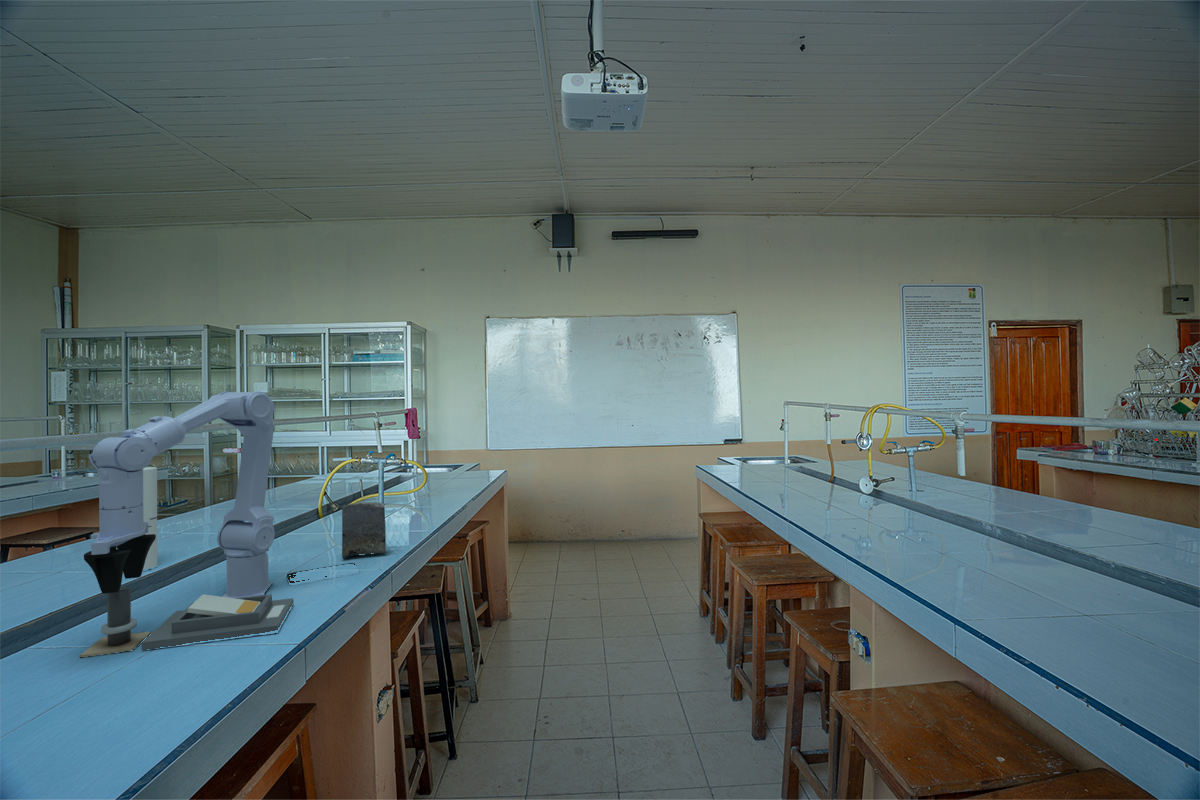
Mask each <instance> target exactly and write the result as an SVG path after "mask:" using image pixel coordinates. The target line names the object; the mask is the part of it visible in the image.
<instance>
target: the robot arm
mask: <svg viewBox="0 0 1200 800" xmlns="http://www.w3.org/2000/svg"><path fill="white" fill-rule="evenodd" d="M274 411H275V403H274V401H273V400H272V399H271V397H269V395H268V394H267V393H266V392H264V391H258V390H257V391H256V390H255V391H222V392H220V393H218V394H215V395H212V396H210V397H209V398H208V399H207V400H205V401H204V402H203V401H202V403H200V404H197V405H196V406H194V407H192V408H190V409H188V410H186V411H185V412H183V413H181V414H179V415H177V416H175V417H174V418H173V417H170V416H167V415H166V416H165V415H163V416H161V415H160V416H159V415H158V416H157V415H154V416H152V417H150V418H149V419H148V421H149V422H147V423H144V424H143V425H140V426H139V427H136V428H134V429H133V428H129V429H126V430H124V431H123V434H122V435H121V436H120V437H115V436H114V437H113V436H112V437H111V436H110V437H107V438H104V439H101V440H100V441H99V442H98V443H97V444H96V445H95V446H94V448H93V450H92V453H90V454H88V460H89V462H90V464H91V465H92V466H93V467H94V468H95V470H96V471H97V472H96V474H97V475H96V476H97V478H98V494H99V495H98V498H99V499H98V501H99V502H98V505H99V506H98V507H99V508H98V509H99V510H98V511H99V512H98V513H99V514H98V515H99V517H98V519H99V525H98V526H99V531H98V532H94V533H92V534H90V539H92V540H94V541H93V542H91V544H90V545H91V547H90V548H91V549H90V551H88V552H85V553H83V560H84V562H86V563H87V565H88V566H89V567H90V569H91V570H92V571H93V573H94V575H95V578H96V581H97V584H98V587H99V589H100V591H101V594H103V595H104V594H105V595H106V594H107V593H115V592H118V591H119V590H120V588H122V581H123V576H124V578H125V580H126V579H127V580H128V579H136V578H141V577H142V574H143V572H142V571H143V568H144V564H145V560H146V557H147V554H148V551H149V549H150V547H151V545H152V543H153V542H154V540H155V538H156V535H155V534H148V535H145V534H146V533H148V522H144V510H143V468H145V467H149V465H150V463H151V462H152V461H153V460H152V459H153V458H154V457H156V456H157V455H159V454H162V453H164V452H165V451H167V450H169V449H171V448H173V447H175V446H177V445H179V444H180V443H182V442H183V441H184V440H185V438H186V437H185V436H186V434H187V433H189V432H191V431H193V430H195V429H197V428H200V427H202V426H205V425H206V424H209V423H211V422H213V421H216V420H218V419H219V420H221V421H223V422H225V423H226V424H228V425H230V426H232V427H233V428H235V429H237V430H238V431H239V433H241V434H242V435H243V441H242V450H241V457H240V464H239V469H238V470H239V473H238V478H237V486H236V492H235V500H234V507H233V508H232V509H231V510H230V511H229V512H228V513H226V514H225V515H224V516H223V521H222V524H221V526H220V528H219V531H217V537H216V542H217V544H218V547H220V548H221V549H222V550H223V554H224V555H225V556H226V592H225V593H223V595H222V596H221V597H227V598H240V597H249V596H258V595H263V594H264V593H265V592H266V590H267V589H268V588H269V586H270V585H271V584H272V582H273V583H274V580H269V555H268V553H267V552H268V551H269V549H270V548H271V546H272V544H273V543H274V540H275V535H276V533H275V531H276V530H275V528H274V517H273V515H272V514H271V513H270V512H269V511H267V509H266V508H265V502H266V493H267V486H268V479H269V472H270V471H269V470H270V463H271V462H270V461H271V456H272V449H273V448H272V446H273V440H274V439H273V438H274V434H275V433H274V431H275V426H274V421H273V420H274V419H273V418H274V413H275V412H274ZM123 573H124V574H123ZM272 585H273V584H272ZM272 585H271V586H272ZM271 586H270V587H271ZM269 589H270V588H269ZM269 589H268V590H269ZM268 590H267V591H268ZM261 593H263V594H261ZM266 593H267V592H266ZM266 593H265V594H266ZM265 594H264V595H265Z"/></svg>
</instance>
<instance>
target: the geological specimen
mask: <svg viewBox="0 0 1200 800" xmlns="http://www.w3.org/2000/svg"><path fill="white" fill-rule="evenodd" d="M385 510H386V509H385V503H383V502H382V501H381V502H376V501H374V502H373V501H361V502H357V503H351V502H350V503H349V504H346V505H344V506H343V505H342V506H341V514H342V515H341V521H342V522H341V523H342V526H341V527H342V529H341V532H342V533H341V534H342V535H341V538H342V541H341V557H342V558H345V557H346V556H347V555H348V556H349V555H359V554H369V555H370V554H371V553H379V554H385V553H386V551H387V550H386V546H387V545H386V543H387V542H386V514H385V513H386V511H385ZM371 555H372V554H371Z"/></svg>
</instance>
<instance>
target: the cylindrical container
mask: <svg viewBox="0 0 1200 800" xmlns="http://www.w3.org/2000/svg"><path fill="white" fill-rule="evenodd" d="M143 510H144V522H148V533H146V534H145V535H148V534H155V535H156V538H155V540H154V542H153V543H152V545H151V547H150V549H149V551H148V554H147V557H146V560H145V564H144V568H143V570H144V569H148V568H152V567H154V566H156V565H157V566H158V467H155V466H147V467H145V468H143Z"/></svg>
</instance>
